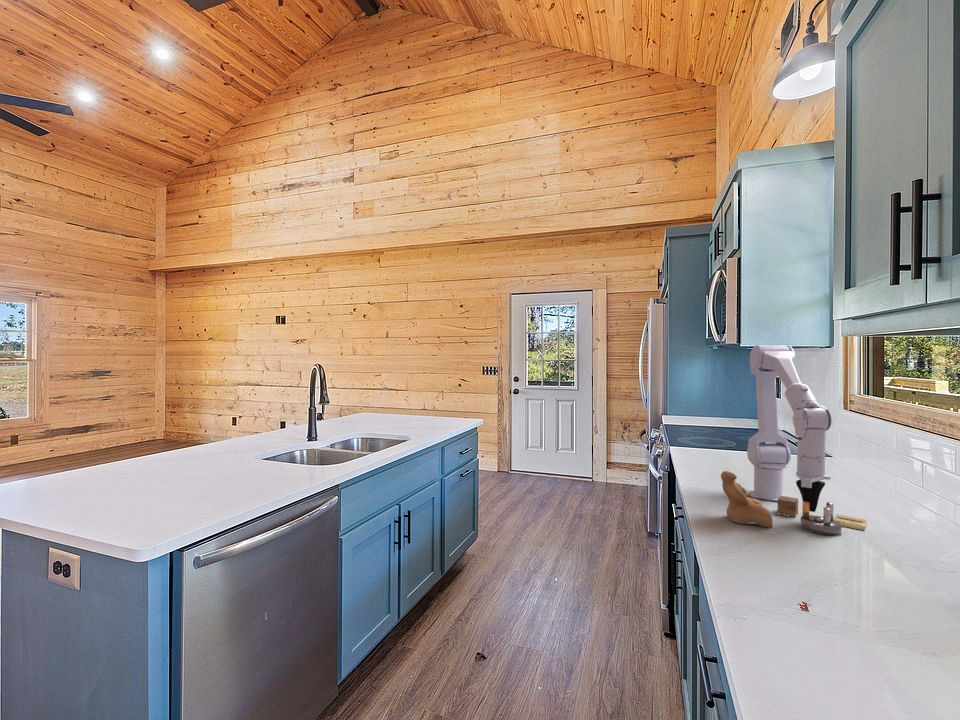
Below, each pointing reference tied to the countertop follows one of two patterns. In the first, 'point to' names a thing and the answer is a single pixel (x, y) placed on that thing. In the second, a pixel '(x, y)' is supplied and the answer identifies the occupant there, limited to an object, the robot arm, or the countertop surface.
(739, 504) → the figurine
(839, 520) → the pad
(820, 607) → the countertop surface
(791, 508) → the block
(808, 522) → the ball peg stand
